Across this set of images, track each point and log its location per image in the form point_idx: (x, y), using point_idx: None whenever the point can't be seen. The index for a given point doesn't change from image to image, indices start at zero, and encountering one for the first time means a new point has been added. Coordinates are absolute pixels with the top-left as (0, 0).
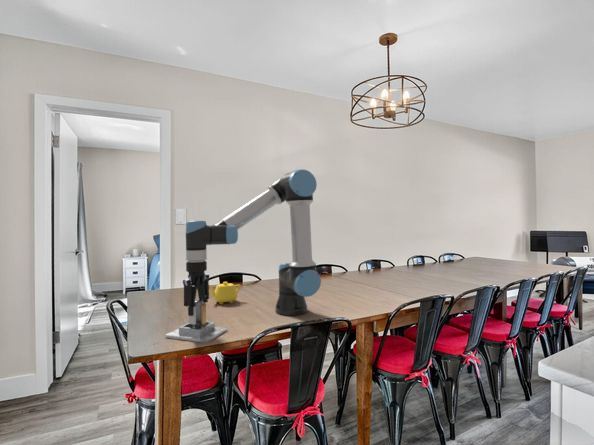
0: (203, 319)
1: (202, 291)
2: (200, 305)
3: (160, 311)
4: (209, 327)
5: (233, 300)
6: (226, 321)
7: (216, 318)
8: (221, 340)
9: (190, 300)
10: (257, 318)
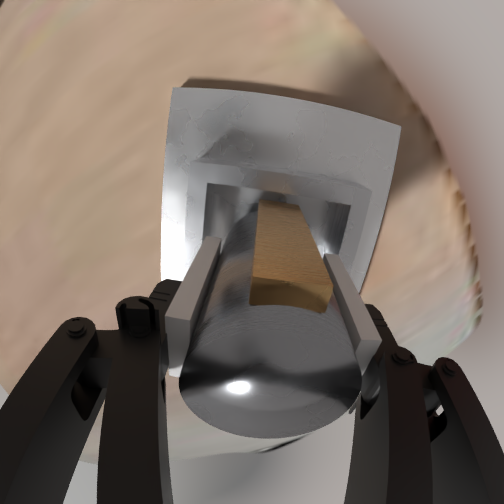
0: (295, 217)
1: (160, 480)
2: (325, 312)
3: (98, 429)
4: (262, 167)
5: None
6: (55, 179)
7: (43, 250)
8: (347, 60)
9: (467, 406)
10: (11, 67)
